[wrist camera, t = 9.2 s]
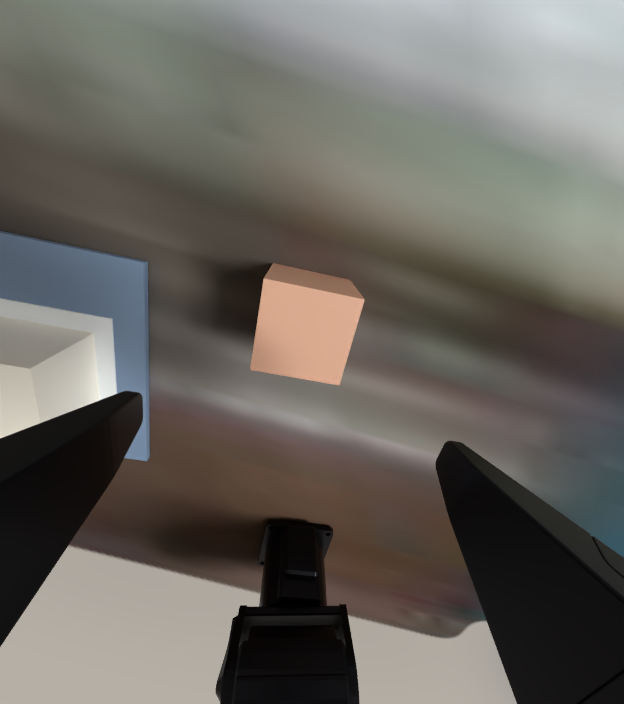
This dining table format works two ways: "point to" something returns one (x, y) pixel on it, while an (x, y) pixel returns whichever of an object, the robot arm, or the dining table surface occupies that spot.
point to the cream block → (43, 373)
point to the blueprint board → (85, 309)
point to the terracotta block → (305, 324)
